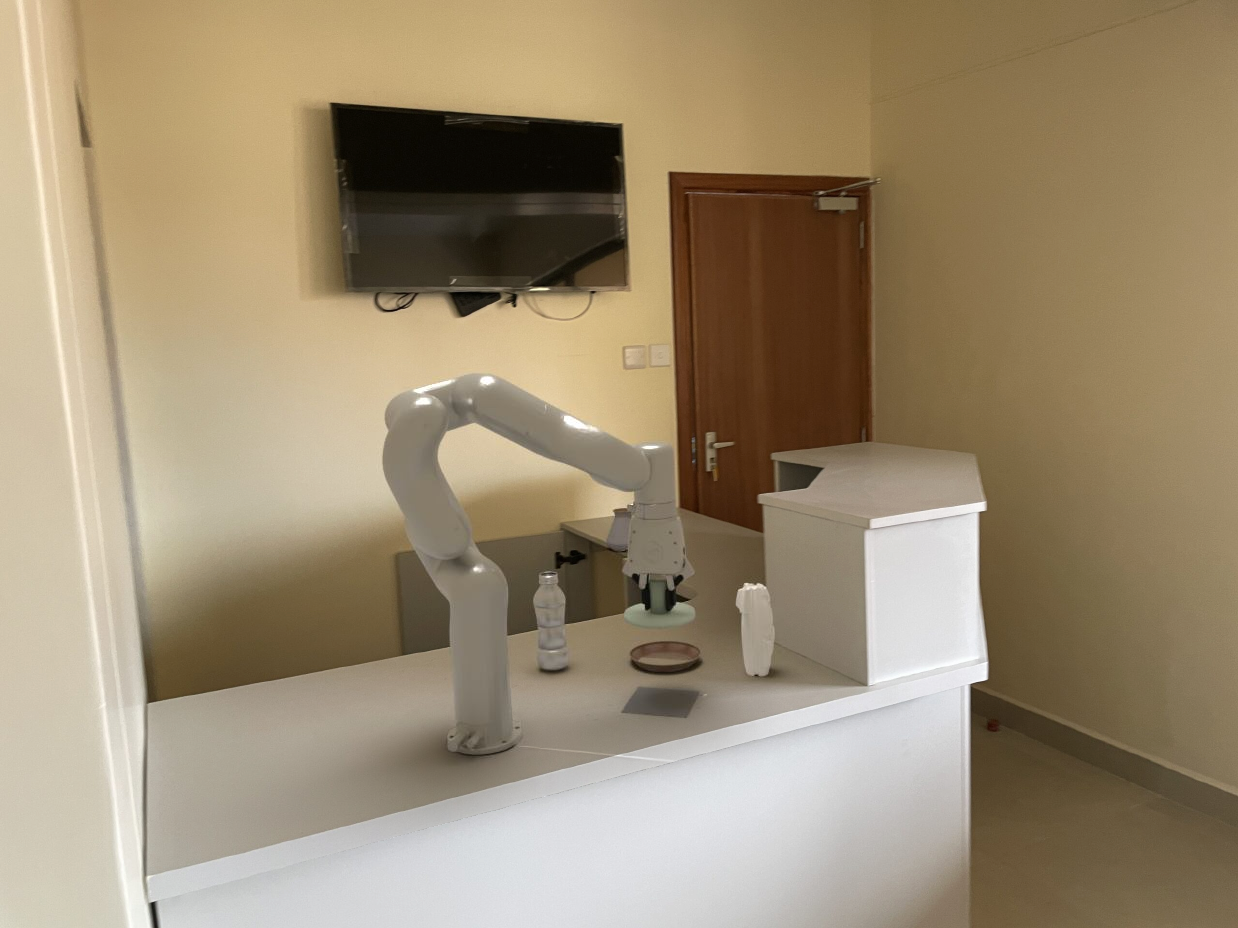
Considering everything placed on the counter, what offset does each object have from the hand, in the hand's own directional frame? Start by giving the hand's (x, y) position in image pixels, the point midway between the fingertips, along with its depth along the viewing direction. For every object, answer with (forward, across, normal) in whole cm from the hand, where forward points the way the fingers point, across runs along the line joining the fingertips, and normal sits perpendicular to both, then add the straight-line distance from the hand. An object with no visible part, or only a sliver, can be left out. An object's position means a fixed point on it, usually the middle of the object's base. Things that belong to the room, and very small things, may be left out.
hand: (659, 607), depth 161 cm
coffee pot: (+18, -41, +118) cm, 126 cm away
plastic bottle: (+18, -26, +10) cm, 33 cm away
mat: (+17, 0, -2) cm, 18 cm away
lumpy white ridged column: (+18, +15, +15) cm, 28 cm away
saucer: (+18, -4, +17) cm, 25 cm away
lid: (+2, 0, 0) cm, 2 cm away
